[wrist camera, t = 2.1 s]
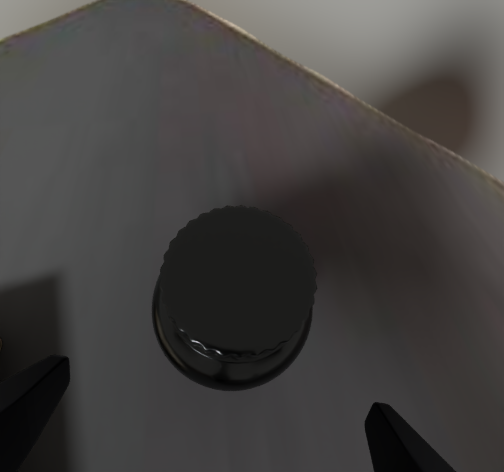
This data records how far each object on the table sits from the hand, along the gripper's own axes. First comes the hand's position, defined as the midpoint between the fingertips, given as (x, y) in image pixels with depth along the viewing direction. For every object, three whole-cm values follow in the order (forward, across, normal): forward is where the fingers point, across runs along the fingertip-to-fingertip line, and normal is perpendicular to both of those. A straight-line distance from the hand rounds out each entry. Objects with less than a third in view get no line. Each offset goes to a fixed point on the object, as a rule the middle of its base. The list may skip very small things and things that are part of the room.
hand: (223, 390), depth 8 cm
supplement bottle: (+10, 0, +5) cm, 11 cm away
